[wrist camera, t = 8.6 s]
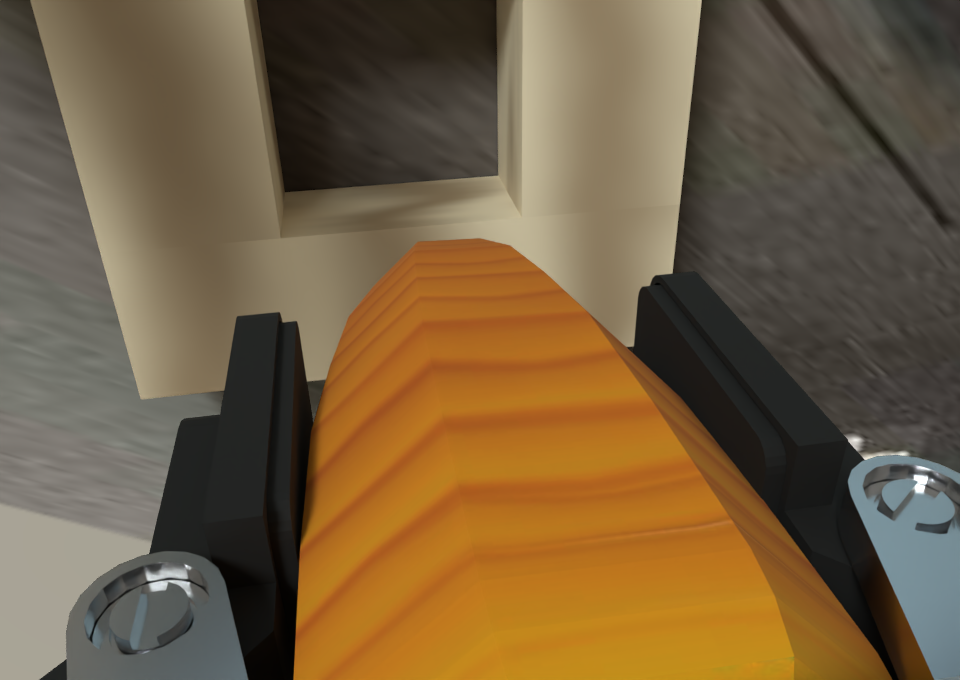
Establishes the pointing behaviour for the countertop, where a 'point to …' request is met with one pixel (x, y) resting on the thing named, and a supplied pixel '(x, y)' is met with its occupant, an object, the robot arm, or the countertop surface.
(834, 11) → the countertop surface
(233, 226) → the maple block
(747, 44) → the countertop surface
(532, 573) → the carrot
